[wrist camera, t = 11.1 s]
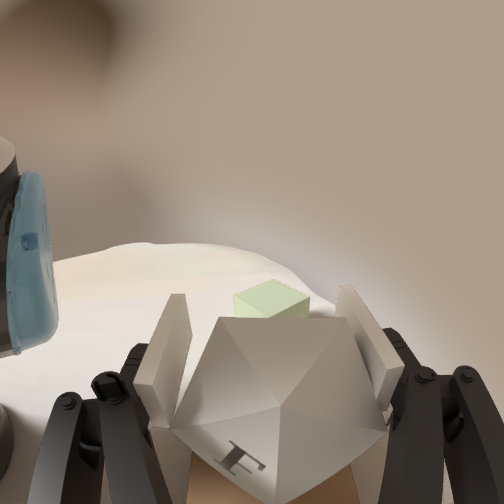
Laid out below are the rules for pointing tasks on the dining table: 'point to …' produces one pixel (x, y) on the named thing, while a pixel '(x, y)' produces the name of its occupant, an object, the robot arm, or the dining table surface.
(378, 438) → the die
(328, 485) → the plinth
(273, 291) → the green cube
